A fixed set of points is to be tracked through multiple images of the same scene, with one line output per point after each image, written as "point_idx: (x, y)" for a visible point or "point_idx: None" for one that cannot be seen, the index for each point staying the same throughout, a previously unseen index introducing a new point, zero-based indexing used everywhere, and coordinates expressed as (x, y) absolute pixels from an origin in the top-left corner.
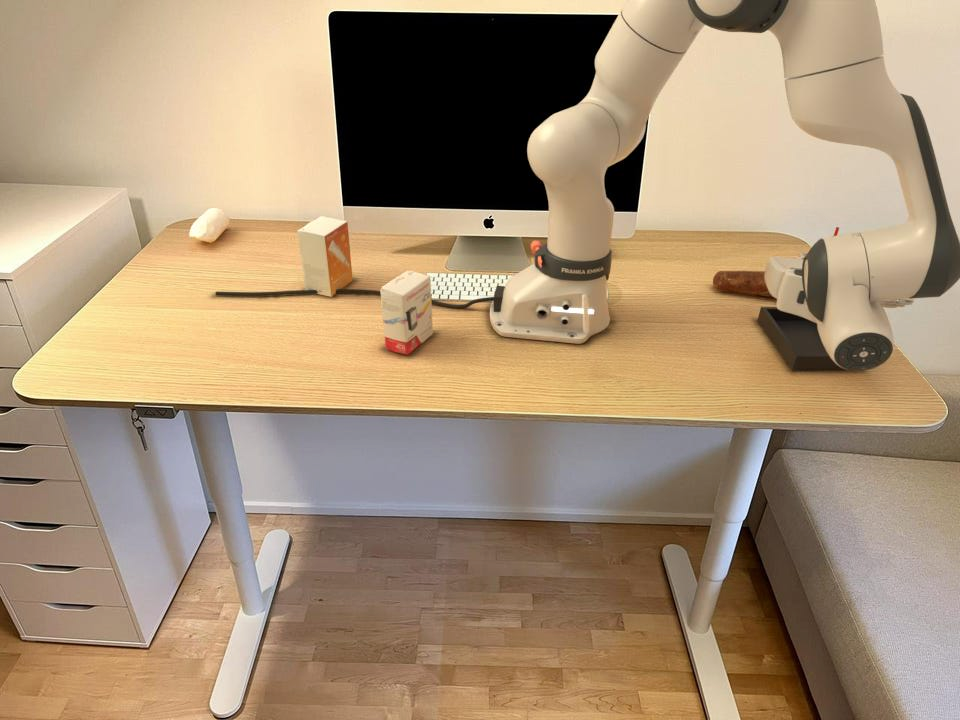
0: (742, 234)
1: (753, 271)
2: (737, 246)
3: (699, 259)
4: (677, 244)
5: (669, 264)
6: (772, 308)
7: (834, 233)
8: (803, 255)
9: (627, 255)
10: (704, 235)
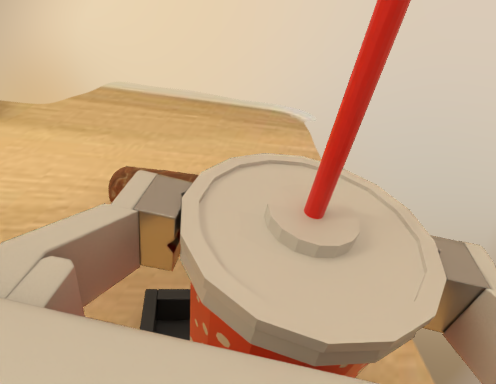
0: (237, 108)
1: (188, 175)
2: (220, 123)
3: (144, 137)
4: (131, 110)
5: (80, 140)
6: (175, 296)
7: (367, 33)
8: (136, 197)
9: (21, 117)
10: (184, 103)
